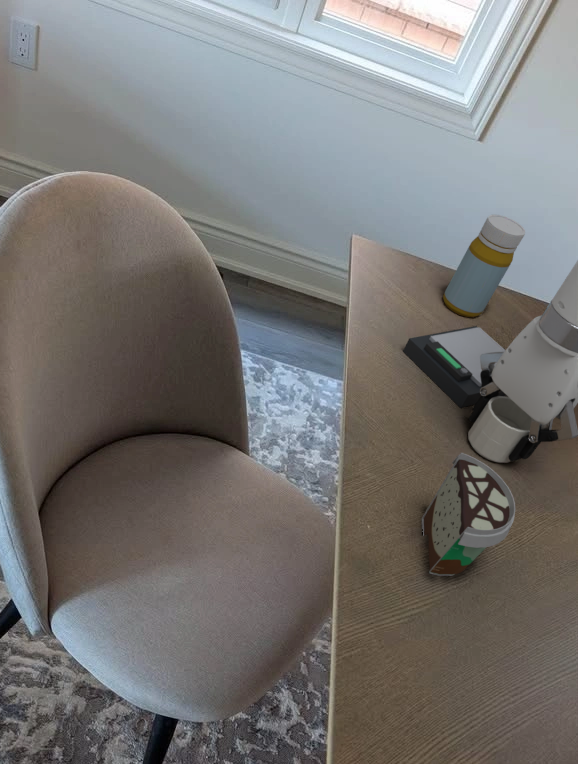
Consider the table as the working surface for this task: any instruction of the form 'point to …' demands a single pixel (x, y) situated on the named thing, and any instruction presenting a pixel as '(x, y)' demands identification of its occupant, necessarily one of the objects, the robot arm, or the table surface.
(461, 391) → the scale
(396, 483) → the table surface
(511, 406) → the cup
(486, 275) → the bottle
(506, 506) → the food container
